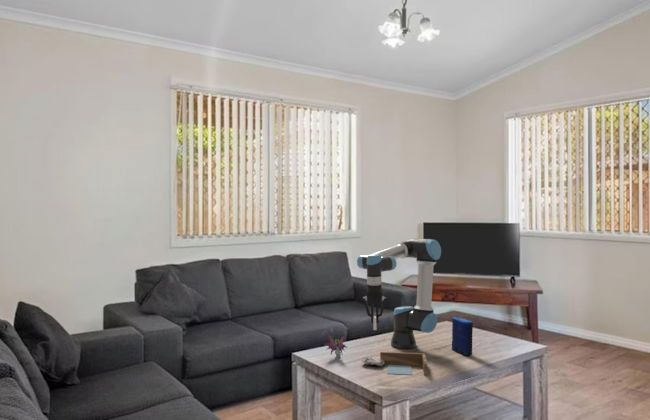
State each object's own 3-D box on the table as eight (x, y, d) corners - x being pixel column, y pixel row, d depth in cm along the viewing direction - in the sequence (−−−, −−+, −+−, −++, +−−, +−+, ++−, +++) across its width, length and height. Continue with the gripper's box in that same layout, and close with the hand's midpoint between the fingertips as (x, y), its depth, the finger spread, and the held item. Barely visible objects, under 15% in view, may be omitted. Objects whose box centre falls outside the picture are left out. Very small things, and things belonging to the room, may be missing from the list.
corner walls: (380, 362, 261) (380, 351, 261) (425, 364, 257) (425, 353, 257) (379, 373, 243) (379, 361, 243) (427, 375, 240) (427, 363, 240)
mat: (387, 365, 256) (387, 364, 256) (410, 366, 255) (410, 365, 255) (387, 373, 242) (387, 373, 242) (411, 375, 241) (411, 374, 241)
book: (450, 350, 285) (450, 316, 285) (457, 349, 287) (457, 315, 287) (466, 357, 271) (465, 321, 272) (473, 356, 273) (473, 320, 274)
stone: (359, 365, 254) (359, 359, 255) (364, 361, 263) (364, 355, 263) (380, 368, 249) (380, 361, 250) (386, 364, 258) (386, 357, 258)
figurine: (350, 357, 271) (350, 330, 271) (347, 361, 263) (347, 333, 263) (327, 355, 275) (327, 328, 275) (323, 359, 267) (323, 332, 267)
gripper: (361, 285, 250) (362, 331, 250) (386, 285, 248) (387, 331, 248) (362, 283, 257) (362, 327, 257) (386, 283, 256) (387, 327, 256)
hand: (375, 329), depth 253 cm, fingers closed
